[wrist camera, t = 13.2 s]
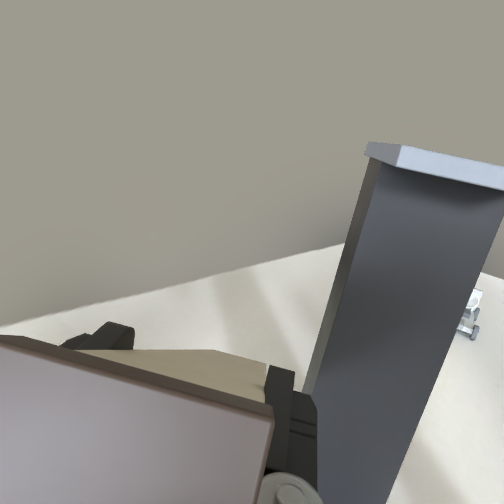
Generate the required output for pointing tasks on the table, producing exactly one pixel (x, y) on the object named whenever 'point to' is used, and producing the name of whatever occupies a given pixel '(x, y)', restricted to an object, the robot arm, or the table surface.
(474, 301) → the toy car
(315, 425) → the robot arm
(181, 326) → the table surface
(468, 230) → the dark grey pillar
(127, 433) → the cream rectangular bar
